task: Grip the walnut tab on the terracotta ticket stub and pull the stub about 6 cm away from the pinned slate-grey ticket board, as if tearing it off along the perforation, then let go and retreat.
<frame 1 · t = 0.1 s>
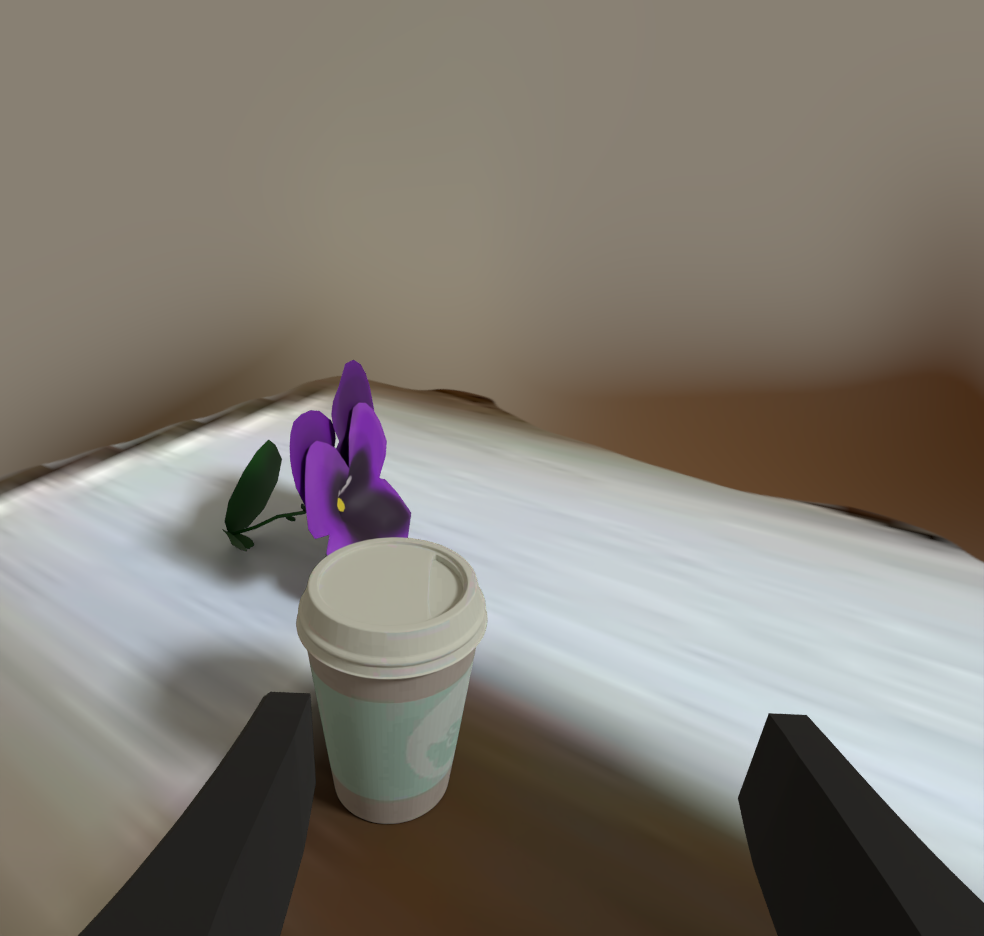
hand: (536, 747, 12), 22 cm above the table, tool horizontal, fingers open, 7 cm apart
flower: (310, 563, 56), on the table
coffee cup: (392, 778, 38), on the table
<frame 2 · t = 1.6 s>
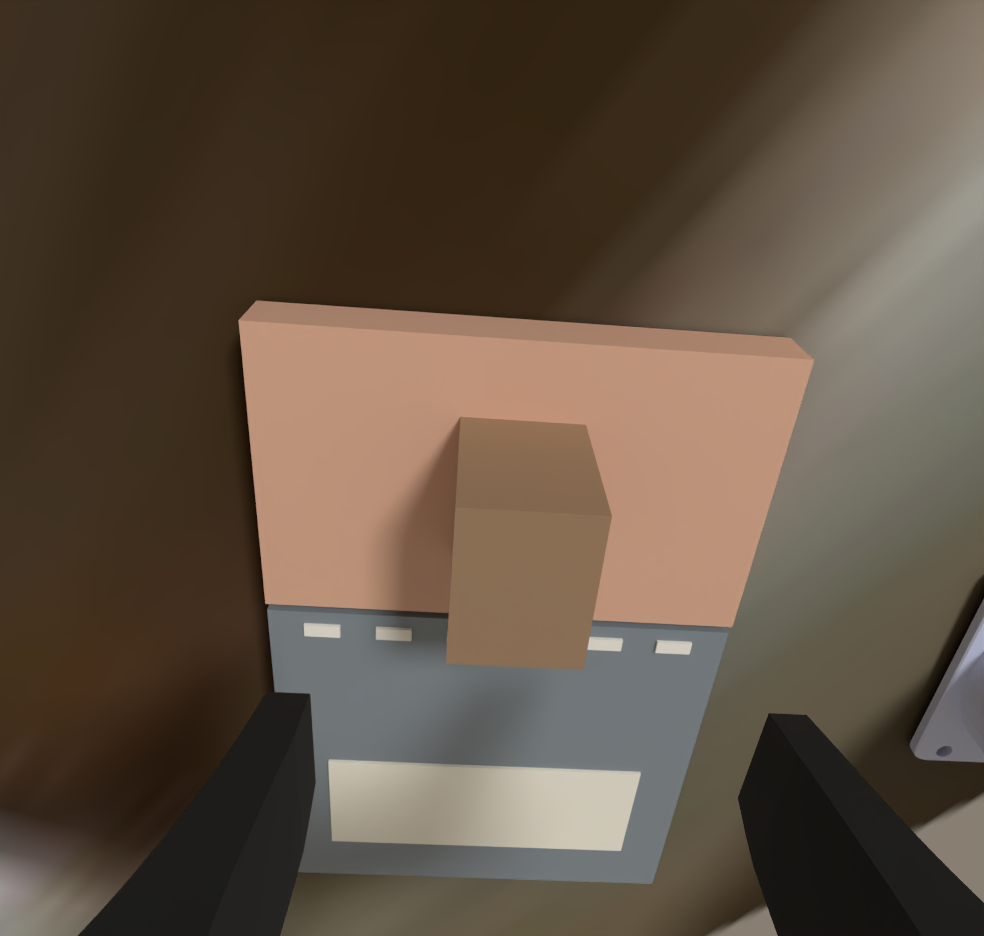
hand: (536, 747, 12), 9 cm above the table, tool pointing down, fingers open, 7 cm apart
ticket board: (485, 728, 25), on the table
stub: (517, 520, 17), point 3 cm above the table, slide at 0.0 cm
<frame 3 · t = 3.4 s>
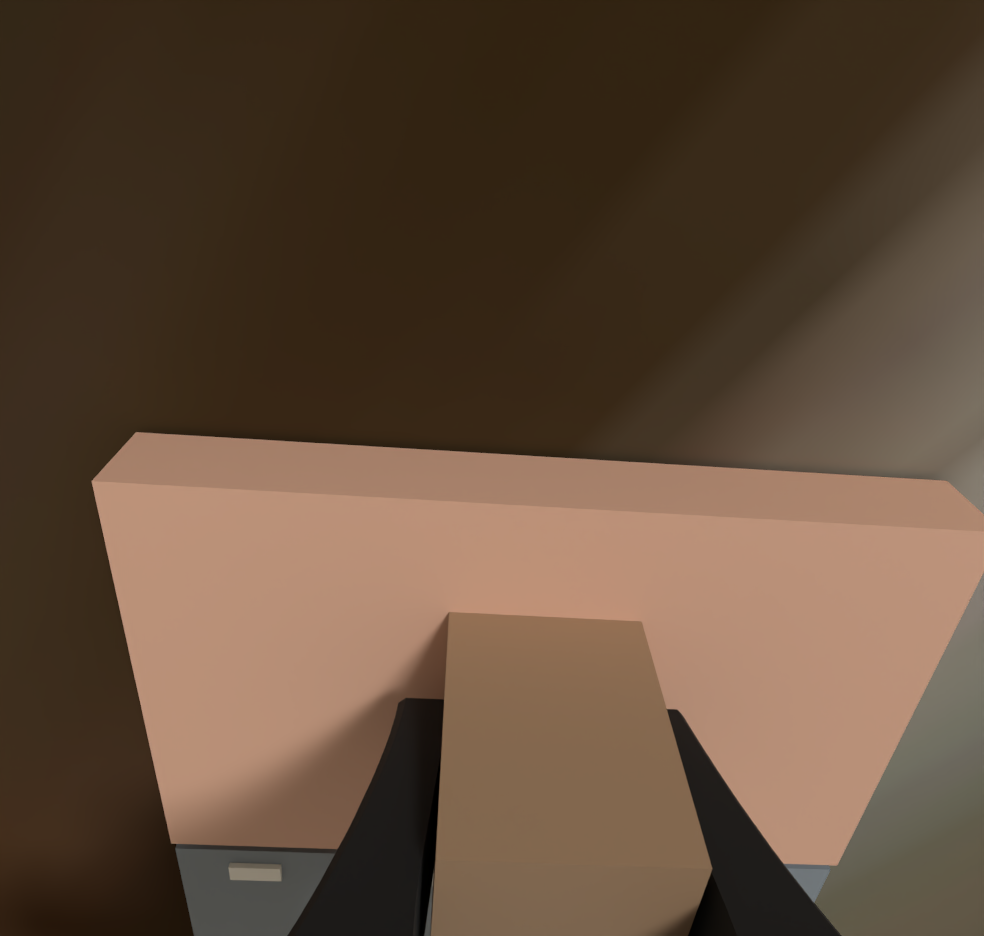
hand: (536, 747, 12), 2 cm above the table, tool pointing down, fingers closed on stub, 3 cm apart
stub: (537, 771, 11), point 3 cm above the table, slide at 0.0 cm, touching gripper
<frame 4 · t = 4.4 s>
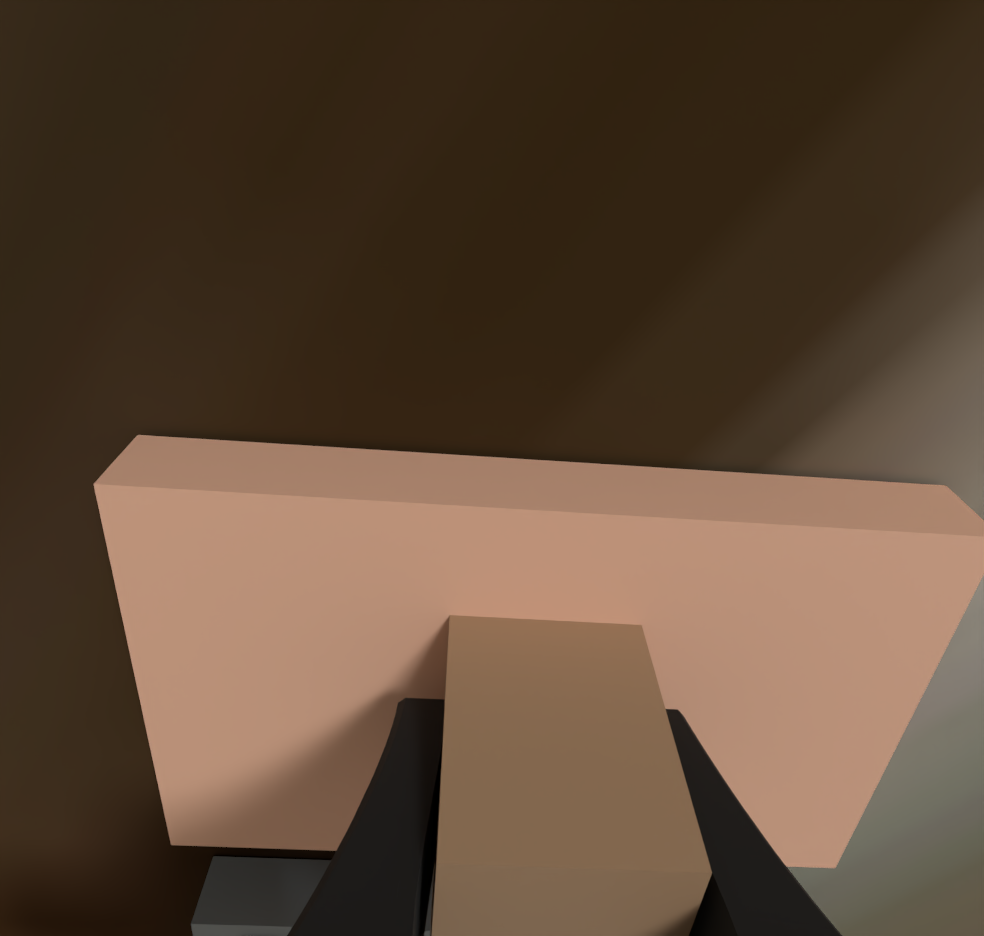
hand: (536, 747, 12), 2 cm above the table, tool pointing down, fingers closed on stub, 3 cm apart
stub: (537, 774, 11), point 3 cm above the table, slide at 2.5 cm, touching gripper
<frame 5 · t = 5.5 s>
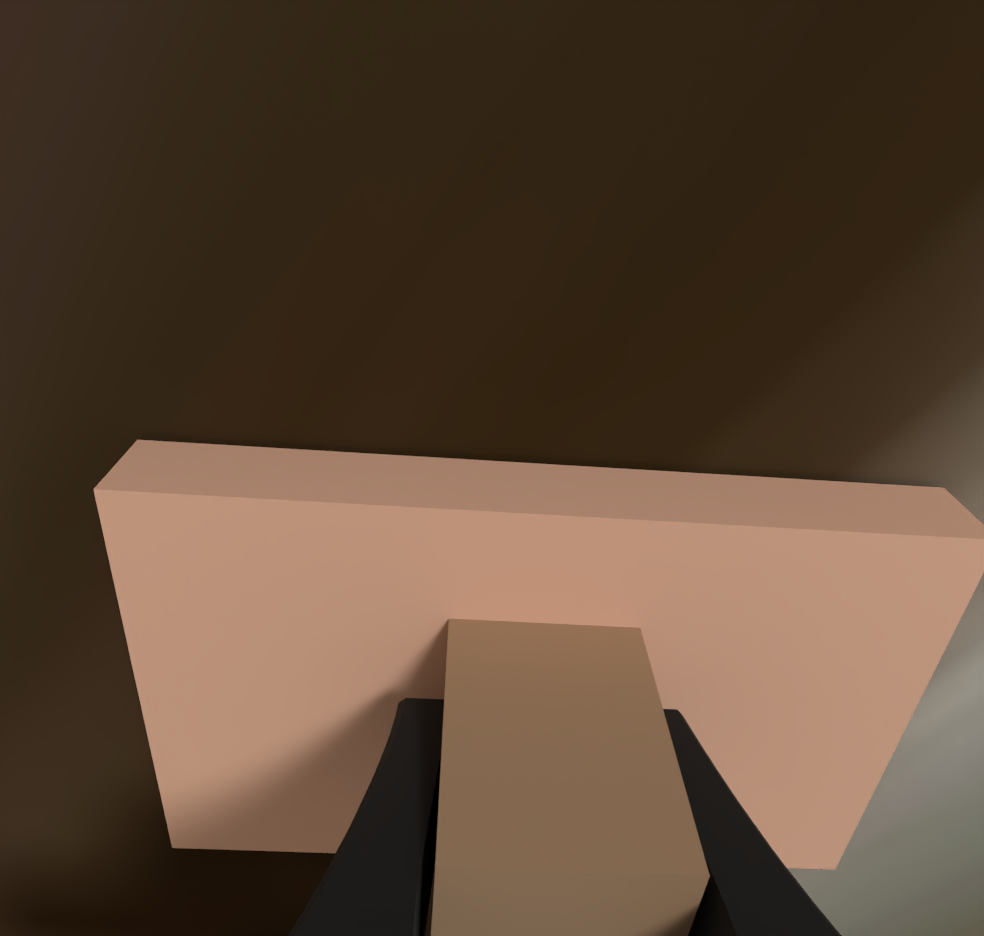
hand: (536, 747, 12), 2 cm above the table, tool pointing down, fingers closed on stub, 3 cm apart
stub: (537, 777, 11), point 3 cm above the table, slide at 6.4 cm, touching gripper
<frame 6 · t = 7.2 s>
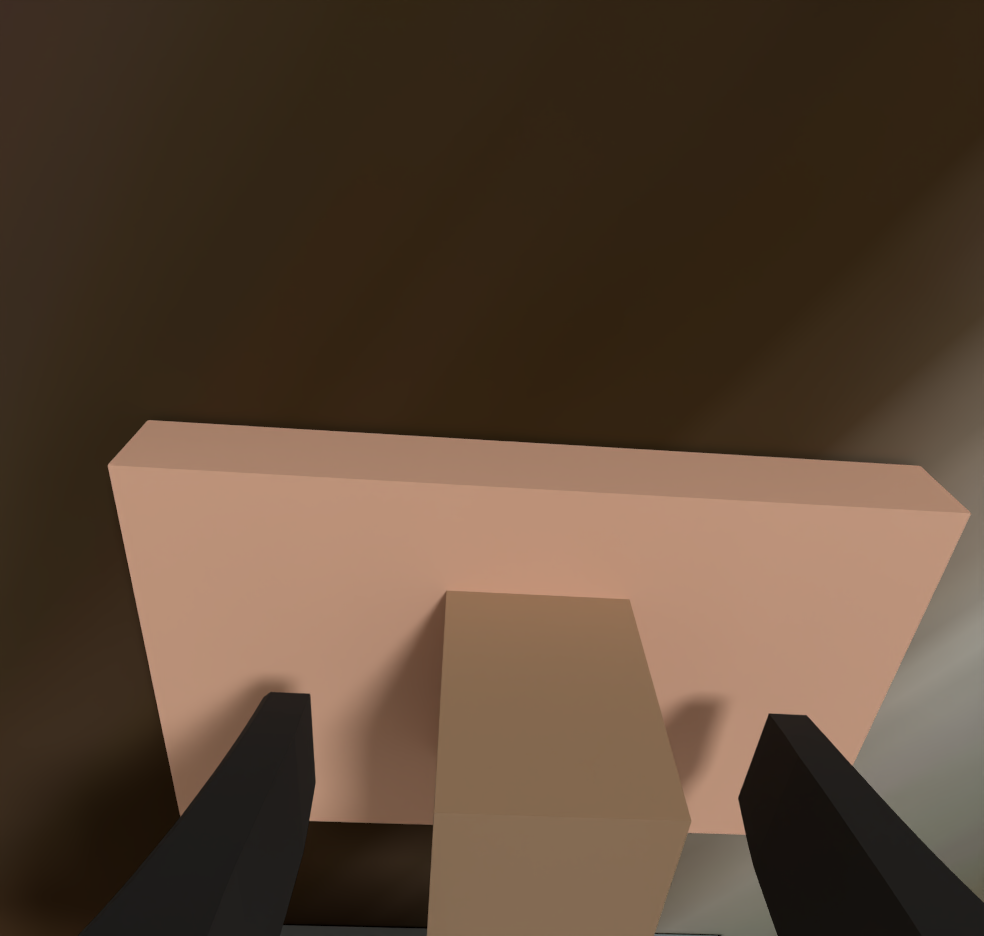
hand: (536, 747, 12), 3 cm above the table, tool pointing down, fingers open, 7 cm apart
stub: (531, 741, 12), point 3 cm above the table, slide at 6.4 cm
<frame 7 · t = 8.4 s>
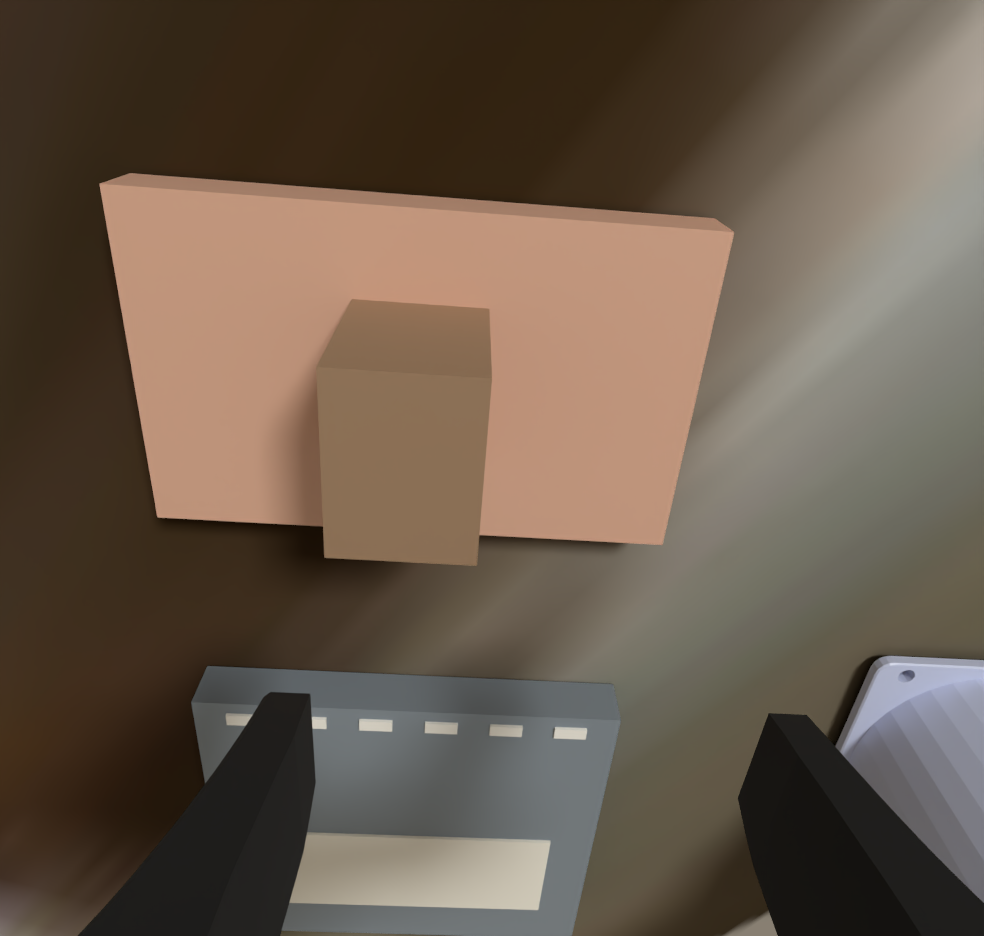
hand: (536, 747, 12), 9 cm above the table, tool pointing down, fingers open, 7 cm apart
ticket board: (409, 797, 27), on the table
stub: (414, 411, 16), point 3 cm above the table, slide at 6.4 cm
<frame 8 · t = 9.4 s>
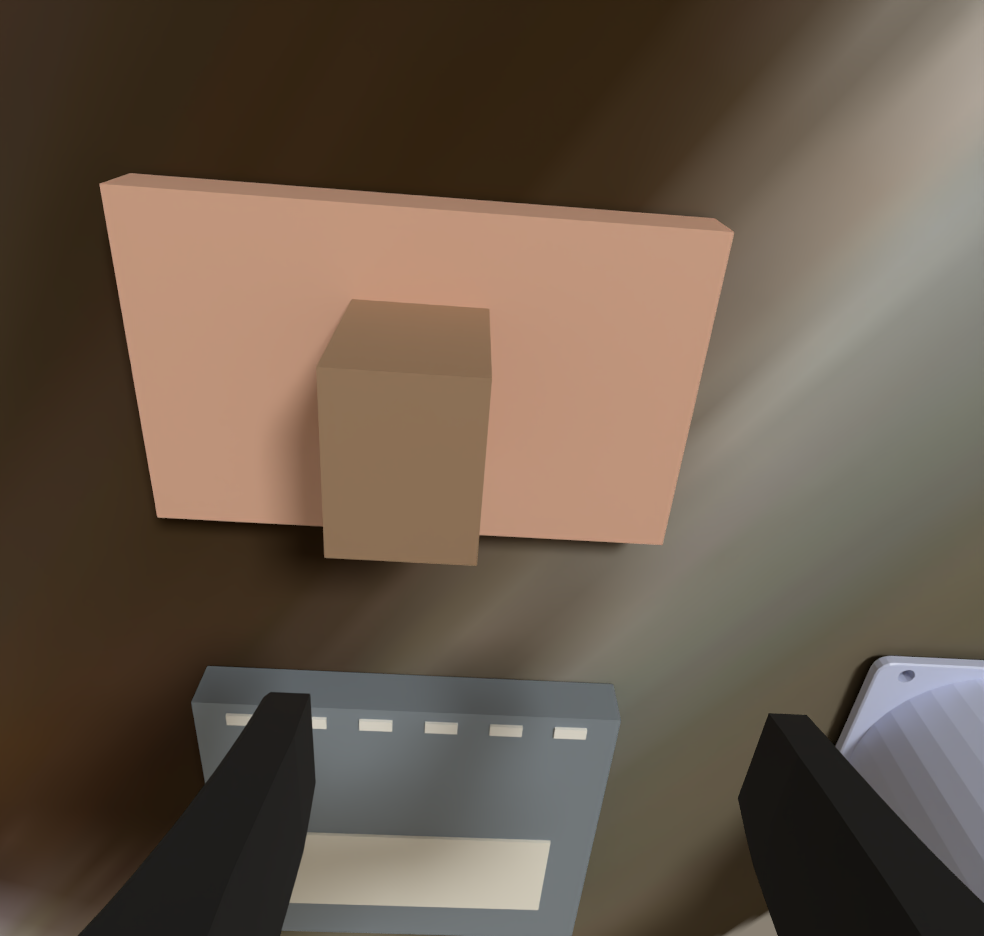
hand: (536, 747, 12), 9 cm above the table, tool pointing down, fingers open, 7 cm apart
ticket board: (409, 797, 27), on the table
stub: (414, 411, 16), point 3 cm above the table, slide at 6.4 cm
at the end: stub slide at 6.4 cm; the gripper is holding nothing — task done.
